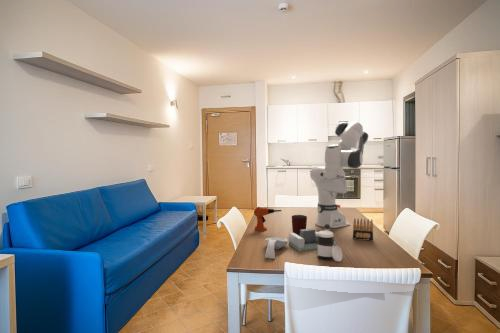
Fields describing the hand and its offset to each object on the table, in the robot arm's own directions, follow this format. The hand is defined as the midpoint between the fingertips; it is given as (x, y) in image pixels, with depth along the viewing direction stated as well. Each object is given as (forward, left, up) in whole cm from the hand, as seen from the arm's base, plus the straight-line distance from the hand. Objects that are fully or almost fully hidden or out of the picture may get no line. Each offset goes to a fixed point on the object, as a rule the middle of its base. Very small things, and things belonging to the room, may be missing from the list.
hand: (333, 199), depth 160 cm
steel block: (+18, +3, -22) cm, 28 cm away
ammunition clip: (-17, +4, -23) cm, 29 cm away
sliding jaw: (+9, +3, -21) cm, 24 cm away
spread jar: (+17, +22, -24) cm, 36 cm away
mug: (+12, -17, -23) cm, 31 cm away
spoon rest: (+37, +4, -24) cm, 44 cm away
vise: (+15, +3, -23) cm, 28 cm away
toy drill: (+27, -30, -23) cm, 46 cm away
